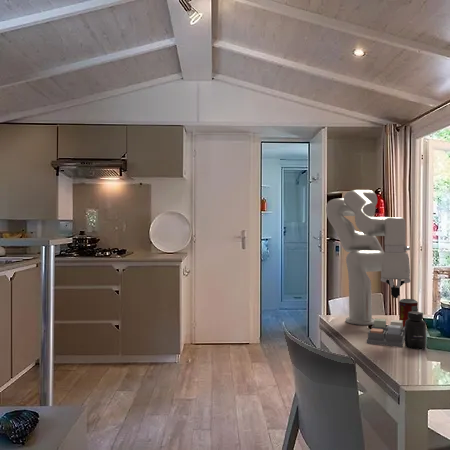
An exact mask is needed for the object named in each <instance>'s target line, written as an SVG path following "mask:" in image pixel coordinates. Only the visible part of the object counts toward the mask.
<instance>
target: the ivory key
mask: <svg viewBox="0 0 450 450" xmlns="http://www.w3.org/2000/svg"><path fill="white" fill-rule="evenodd" d="M390 325H396V326H401V329H402V328H403V321H402V320H399V319H391V320H390Z"/></svg>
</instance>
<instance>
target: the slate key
mask: <svg viewBox="0 0 450 450" xmlns="http://www.w3.org/2000/svg"><path fill="white" fill-rule="evenodd" d="M388 325H389V326H388V334H392V335H400V334H401V326H396V325H391V324H388Z"/></svg>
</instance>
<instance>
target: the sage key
mask: <svg viewBox="0 0 450 450" xmlns="http://www.w3.org/2000/svg"><path fill="white" fill-rule="evenodd" d="M374 319H375V320H374V327H382V328H385V327H386V325H387V318H386V319H385V318H374Z"/></svg>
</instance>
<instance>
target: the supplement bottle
mask: <svg viewBox="0 0 450 450" xmlns="http://www.w3.org/2000/svg"><path fill="white" fill-rule="evenodd" d="M408 318H409V319H407V320H406V321H405V340H404V345H405V347H406V348H408V349H413V350H425V349H426V348H427V323H426V321H425V320H423V319H424V313H423V312H420V311H418V312H414V311H411V312H408Z"/></svg>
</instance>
